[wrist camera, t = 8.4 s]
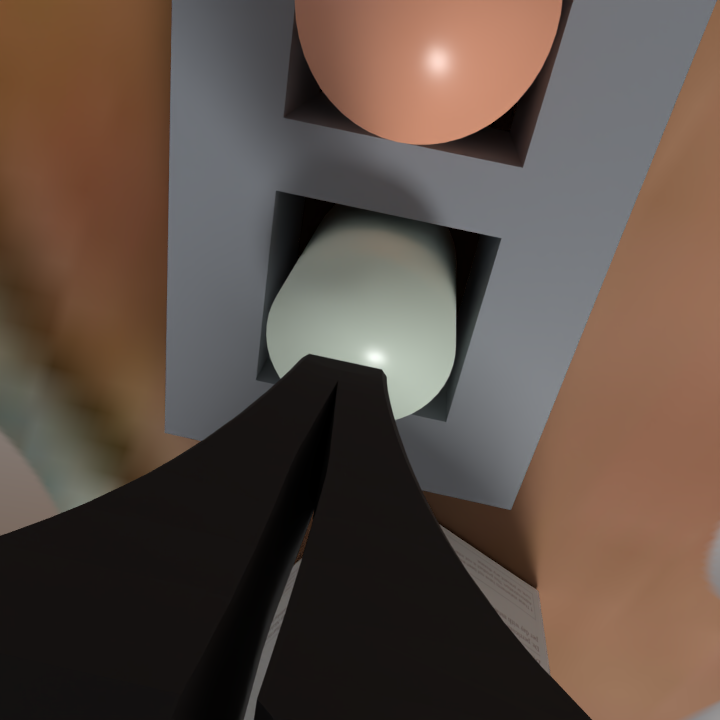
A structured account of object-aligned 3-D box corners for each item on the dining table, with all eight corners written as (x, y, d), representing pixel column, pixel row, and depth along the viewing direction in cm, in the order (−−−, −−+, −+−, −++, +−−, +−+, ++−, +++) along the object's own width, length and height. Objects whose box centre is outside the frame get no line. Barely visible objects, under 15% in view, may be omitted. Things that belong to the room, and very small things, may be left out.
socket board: (211, 362, 19) (164, 432, 16) (289, -942, 9) (195, -1462, 6) (502, 426, 19) (510, 510, 16) (956, -832, 8) (1247, -1314, 5)
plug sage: (303, 310, 18) (258, 402, 14) (321, 174, 16) (276, 235, 12) (437, 339, 18) (431, 440, 14) (473, 206, 16) (478, 279, 12)
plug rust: (331, 82, 14) (281, 117, 10) (360, -131, 12) (313, -190, 8) (499, 117, 14) (516, 167, 10) (557, -92, 12) (605, -132, 8)
